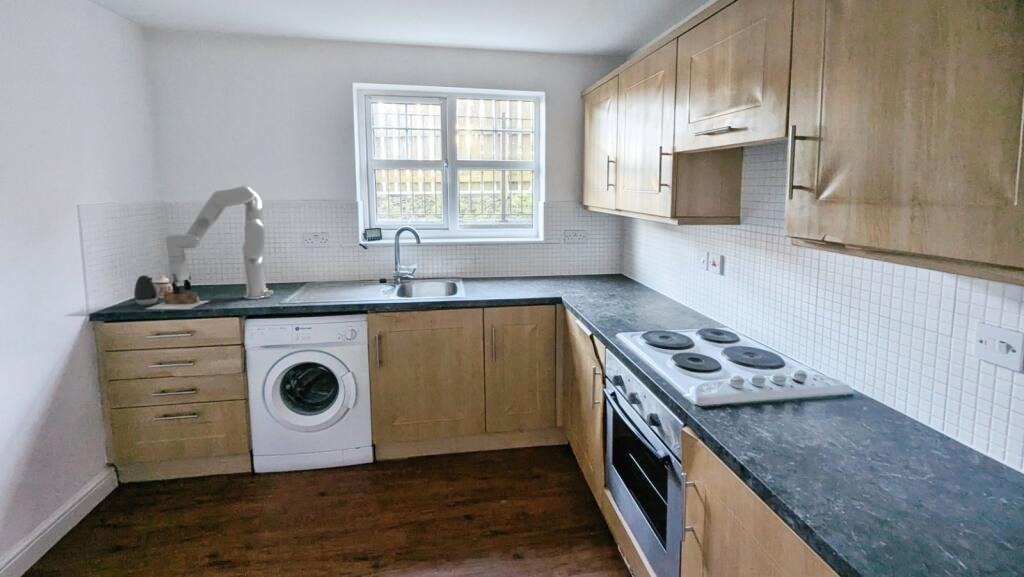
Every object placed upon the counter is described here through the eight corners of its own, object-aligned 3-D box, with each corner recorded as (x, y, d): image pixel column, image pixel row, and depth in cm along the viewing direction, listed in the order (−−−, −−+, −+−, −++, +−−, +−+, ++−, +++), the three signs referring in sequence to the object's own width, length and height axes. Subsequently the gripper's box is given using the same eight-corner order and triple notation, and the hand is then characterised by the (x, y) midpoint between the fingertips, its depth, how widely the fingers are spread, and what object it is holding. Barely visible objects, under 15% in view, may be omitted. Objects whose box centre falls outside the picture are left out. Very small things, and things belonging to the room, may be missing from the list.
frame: (198, 301, 290) (197, 292, 289) (192, 304, 284) (191, 294, 283) (172, 301, 290) (170, 292, 289) (164, 304, 284) (163, 294, 283)
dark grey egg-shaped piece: (146, 307, 279) (142, 277, 276) (130, 306, 282) (126, 276, 279) (163, 303, 289) (160, 274, 286) (148, 301, 292) (144, 273, 289)
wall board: (210, 301, 292) (209, 295, 291) (189, 310, 273) (188, 303, 272) (168, 301, 292) (167, 295, 291) (145, 310, 273) (144, 302, 272)
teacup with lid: (158, 299, 297) (156, 278, 294) (152, 297, 302) (150, 276, 300) (183, 296, 305) (180, 275, 303) (177, 294, 311) (174, 273, 309)
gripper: (180, 256, 291) (185, 288, 294) (159, 262, 274) (165, 295, 278) (194, 256, 291) (199, 288, 294) (174, 261, 274) (180, 295, 277)
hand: (182, 291), depth 286 cm, fingers open, 9 cm apart
